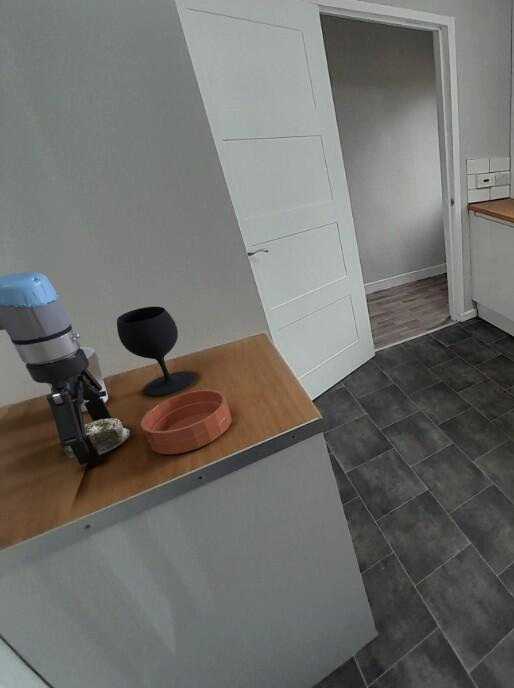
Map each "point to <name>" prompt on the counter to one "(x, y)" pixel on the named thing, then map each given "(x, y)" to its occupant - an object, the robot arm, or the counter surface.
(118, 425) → the cake
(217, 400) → the bowl
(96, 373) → the foam cup
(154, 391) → the wine glass
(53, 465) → the counter surface
